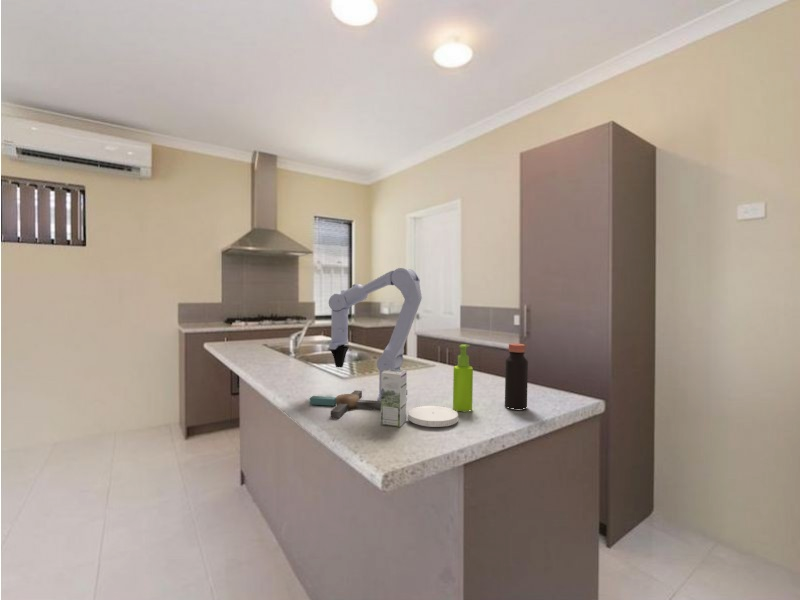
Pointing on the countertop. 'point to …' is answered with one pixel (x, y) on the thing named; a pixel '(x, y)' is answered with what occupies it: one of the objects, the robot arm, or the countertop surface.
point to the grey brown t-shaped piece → (352, 404)
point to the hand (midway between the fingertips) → (339, 367)
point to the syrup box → (393, 397)
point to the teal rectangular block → (323, 400)
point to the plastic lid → (433, 416)
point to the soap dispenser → (463, 382)
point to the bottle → (516, 377)
